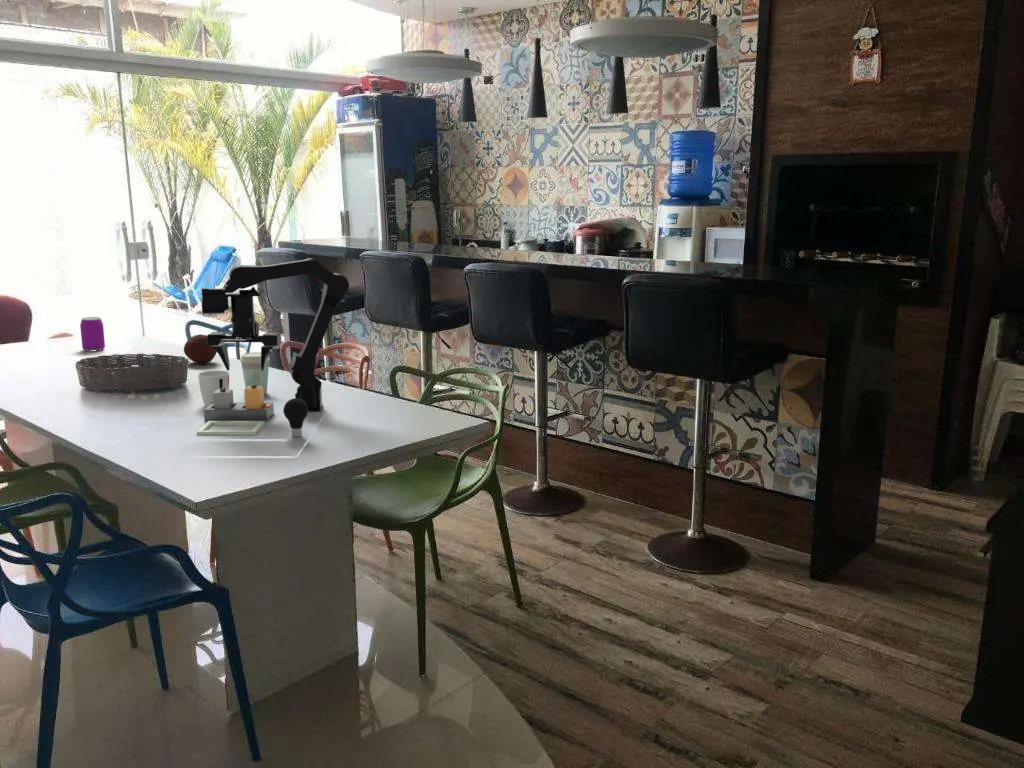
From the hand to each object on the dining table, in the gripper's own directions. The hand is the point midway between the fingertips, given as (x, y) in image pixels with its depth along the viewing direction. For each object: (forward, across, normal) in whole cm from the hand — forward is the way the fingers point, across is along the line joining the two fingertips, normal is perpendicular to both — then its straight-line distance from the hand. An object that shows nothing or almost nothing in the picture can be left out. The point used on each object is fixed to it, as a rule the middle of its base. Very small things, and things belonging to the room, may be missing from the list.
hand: (245, 370), depth 231 cm
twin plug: (+11, +4, +8) cm, 14 cm away
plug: (+11, -4, +8) cm, 14 cm away
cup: (+12, +10, -5) cm, 17 cm away
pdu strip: (+12, 0, +8) cm, 14 cm away
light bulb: (+12, -18, +24) cm, 32 cm away
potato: (+12, +33, -69) cm, 78 cm away
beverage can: (+12, +80, -93) cm, 123 cm away
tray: (+12, -1, +20) cm, 23 cm away
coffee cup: (+12, +3, -23) cm, 26 cm away
